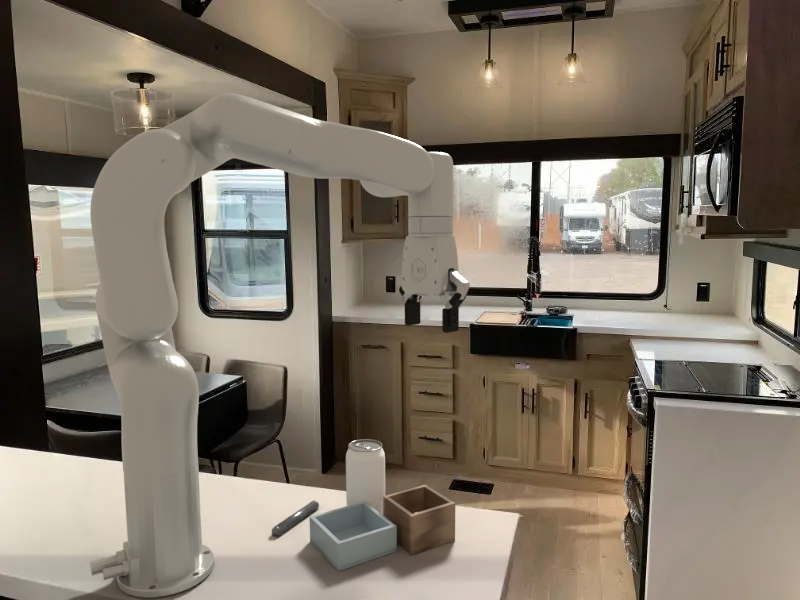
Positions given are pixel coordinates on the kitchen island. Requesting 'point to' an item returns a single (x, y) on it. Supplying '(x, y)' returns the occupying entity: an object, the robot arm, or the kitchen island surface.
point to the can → (365, 473)
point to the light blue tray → (352, 535)
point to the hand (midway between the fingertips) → (430, 327)
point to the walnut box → (420, 518)
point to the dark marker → (294, 518)
